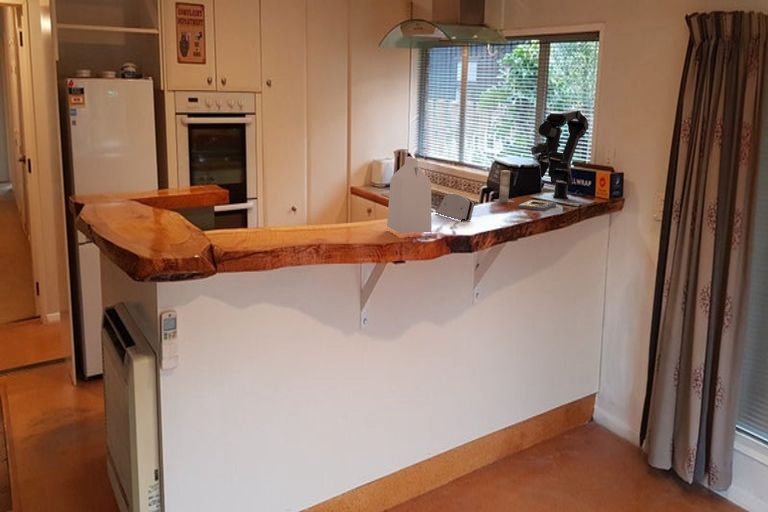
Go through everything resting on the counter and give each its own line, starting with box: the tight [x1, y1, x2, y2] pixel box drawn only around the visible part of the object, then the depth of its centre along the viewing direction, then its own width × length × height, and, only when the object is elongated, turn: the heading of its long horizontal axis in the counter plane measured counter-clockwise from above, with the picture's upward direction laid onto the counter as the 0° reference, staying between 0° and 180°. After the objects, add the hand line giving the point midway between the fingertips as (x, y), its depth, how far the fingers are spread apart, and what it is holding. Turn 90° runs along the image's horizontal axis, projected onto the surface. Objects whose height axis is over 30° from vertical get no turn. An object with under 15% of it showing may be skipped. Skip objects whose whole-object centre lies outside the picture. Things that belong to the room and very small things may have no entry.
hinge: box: [435, 193, 475, 221], centre depth 263 cm, size 17×5×10 cm, turn 31°
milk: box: [386, 156, 432, 233], centre depth 231 cm, size 12×12×26 cm
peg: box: [498, 169, 511, 201], centre depth 299 cm, size 4×4×13 cm
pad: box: [494, 198, 516, 203], centre depth 301 cm, size 7×7×1 cm
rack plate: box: [518, 199, 557, 212], centre depth 289 cm, size 16×11×2 cm
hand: (545, 176), depth 298 cm, fingers open, 9 cm apart
